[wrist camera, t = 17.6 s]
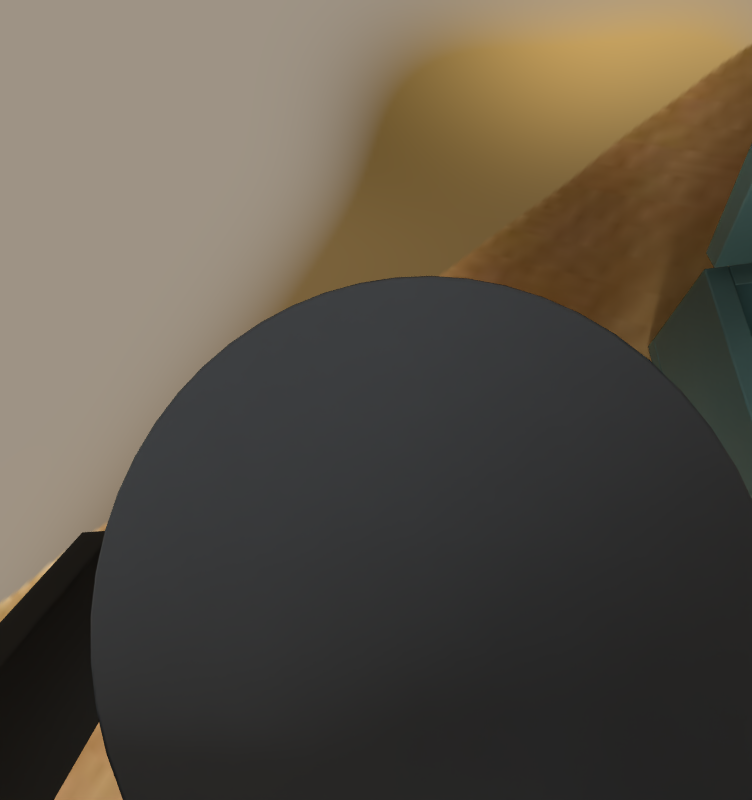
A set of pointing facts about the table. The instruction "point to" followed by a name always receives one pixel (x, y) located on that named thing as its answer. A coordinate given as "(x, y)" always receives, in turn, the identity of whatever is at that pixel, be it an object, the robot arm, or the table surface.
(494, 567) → the canister
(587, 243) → the table surface
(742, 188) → the chest lid
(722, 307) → the chest
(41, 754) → the robot arm
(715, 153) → the table surface
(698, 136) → the table surface
